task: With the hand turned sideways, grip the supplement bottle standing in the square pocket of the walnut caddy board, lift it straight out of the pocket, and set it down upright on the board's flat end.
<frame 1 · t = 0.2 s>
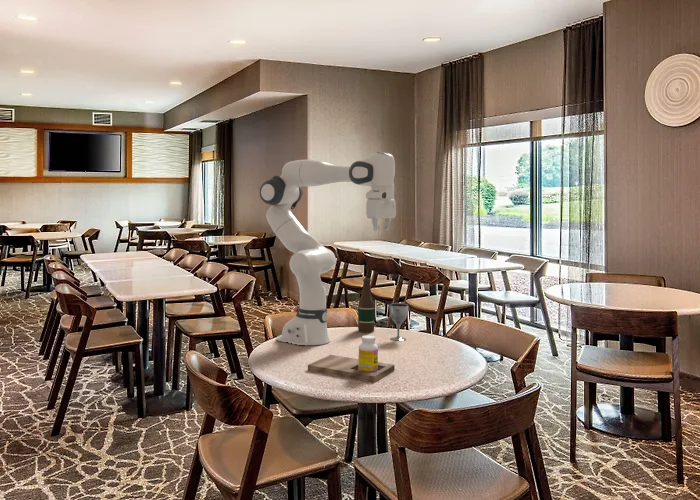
hand: (381, 230, 235), 48 cm above the table, tool pointing down, fingers open, 8 cm apart
supplement bottle: (367, 373, 210), resting in caddy board
caddy board: (351, 370, 213), on the table
beer bottle: (366, 331, 276), on the table
wine glass: (398, 339, 261), on the table
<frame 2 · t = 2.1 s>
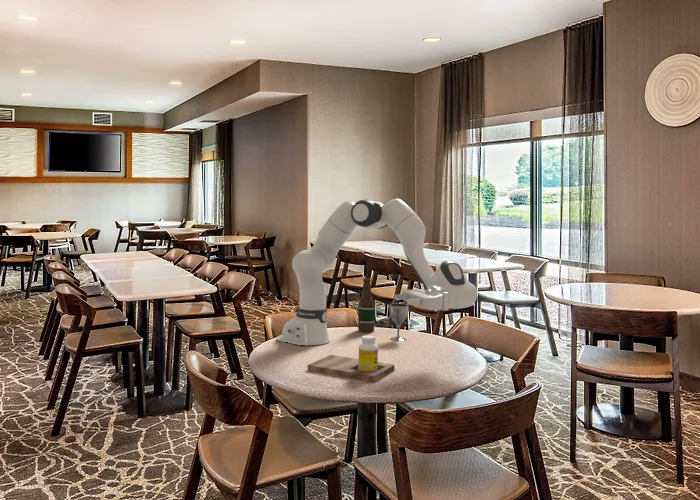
hand: (401, 299, 212), 25 cm above the table, tool horizontal, fingers open, 8 cm apart
nothing on the table moved.
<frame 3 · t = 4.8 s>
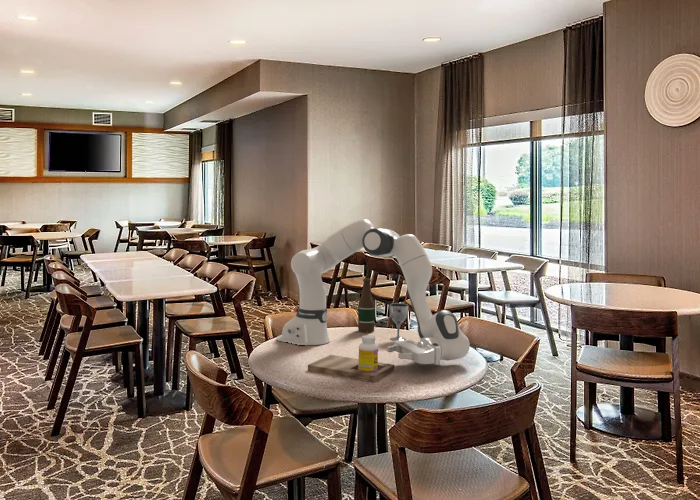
hand: (393, 352, 213), 6 cm above the table, tool horizontal, fingers open, 8 cm apart
nothing on the table moved.
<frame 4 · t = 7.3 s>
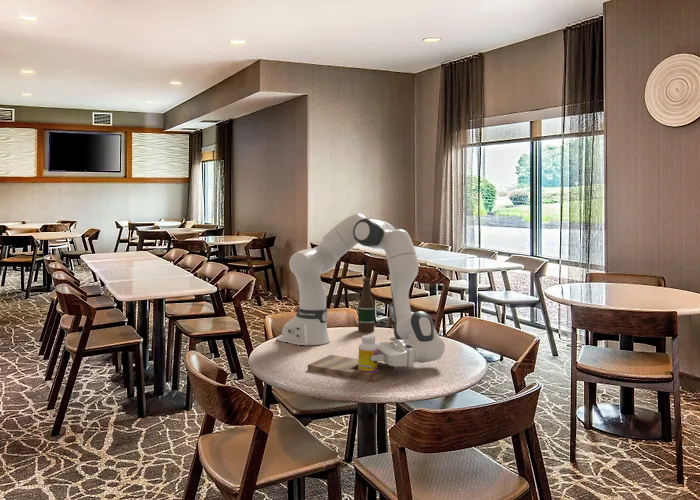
hand: (365, 355, 209), 7 cm above the table, tool horizontal, fingers closed on supplement bottle, 7 cm apart
supplement bottle: (367, 373, 210), resting in caddy board, touching gripper
everything else where it was.
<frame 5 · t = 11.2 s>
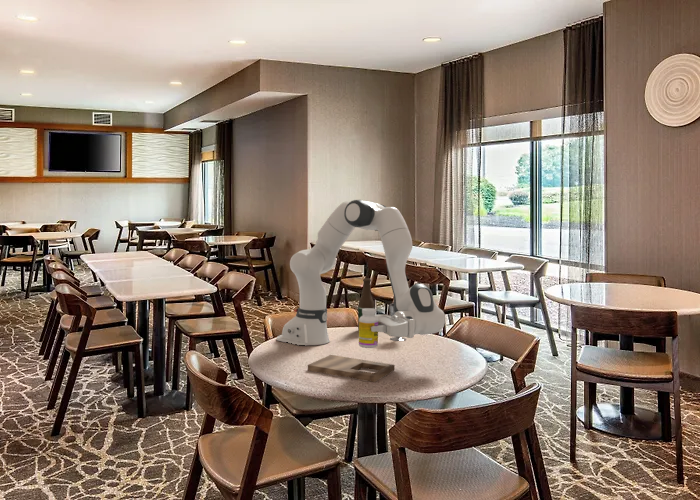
hand: (366, 326, 208), 17 cm above the table, tool horizontal, fingers closed on supplement bottle, 7 cm apart
supplement bottle: (368, 346, 209), point 9 cm above the table, touching gripper
everything else where it was.
when the fingers open (10 cm above the table, at t = 14.8 s): supplement bottle stays where it is, resting on caddy board.
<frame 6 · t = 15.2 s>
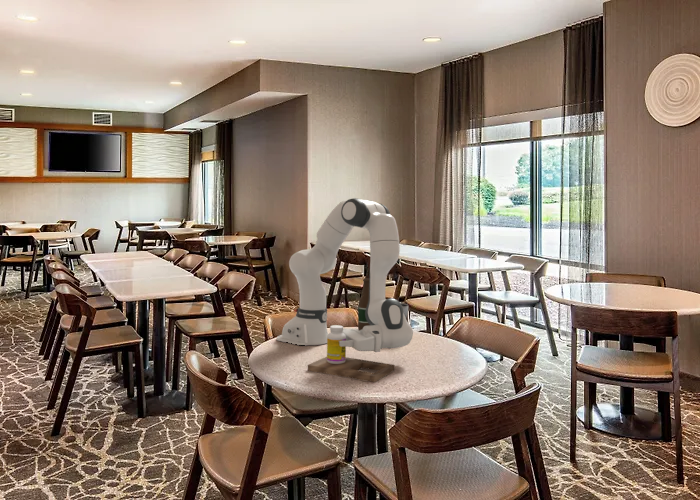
hand: (334, 340, 214), 10 cm above the table, tool horizontal, fingers open, 8 cm apart
supplement bottle: (336, 362, 216), point 2 cm above the table, touching caddy board
everything else where it was.
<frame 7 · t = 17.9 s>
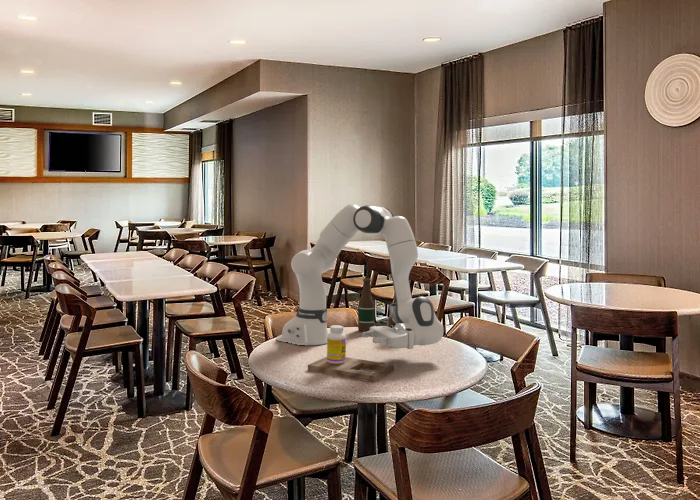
hand: (368, 337, 219), 10 cm above the table, tool horizontal, fingers open, 8 cm apart
nothing on the table moved.
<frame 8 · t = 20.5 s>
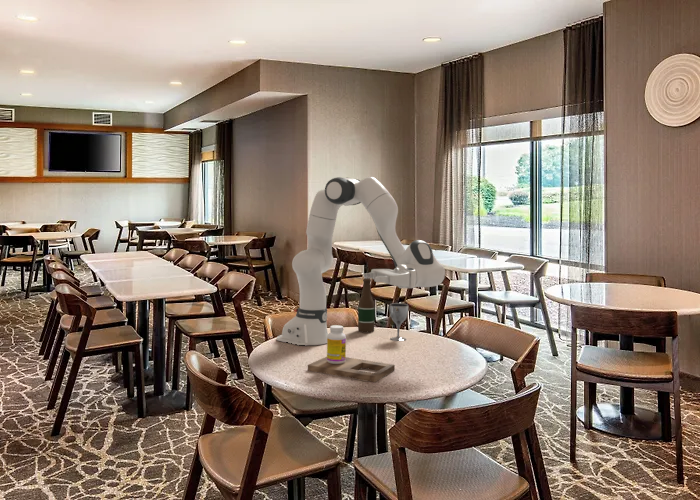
hand: (369, 277, 217), 32 cm above the table, tool horizontal, fingers open, 8 cm apart
nothing on the table moved.
at the end: supplement bottle inside the target area on the caddy board (0.4 cm from its centre), point 1.8 cm above the caddy board's base; supplement bottle tilted 0°; the gripper is holding nothing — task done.
